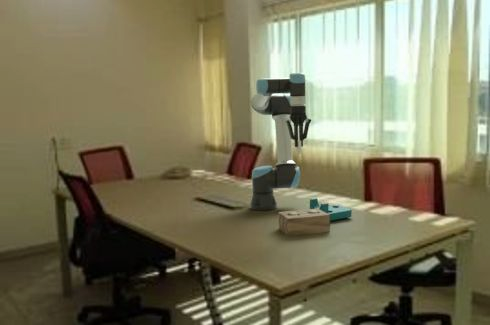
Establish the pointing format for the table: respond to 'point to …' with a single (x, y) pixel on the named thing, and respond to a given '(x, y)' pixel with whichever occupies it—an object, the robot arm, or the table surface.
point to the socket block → (304, 222)
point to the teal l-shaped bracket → (331, 209)
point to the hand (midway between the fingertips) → (299, 153)
